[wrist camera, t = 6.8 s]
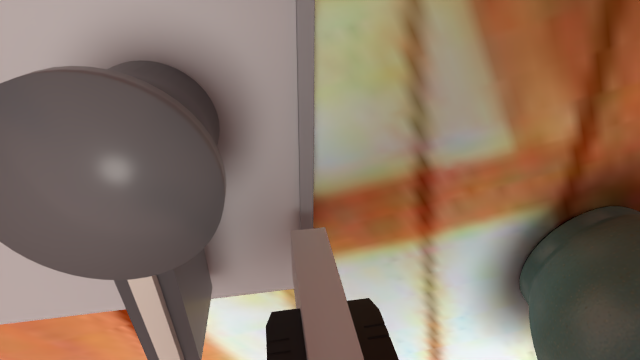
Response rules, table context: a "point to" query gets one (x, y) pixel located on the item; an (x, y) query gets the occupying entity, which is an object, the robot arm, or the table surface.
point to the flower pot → (586, 288)
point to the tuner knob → (117, 189)
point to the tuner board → (234, 121)
